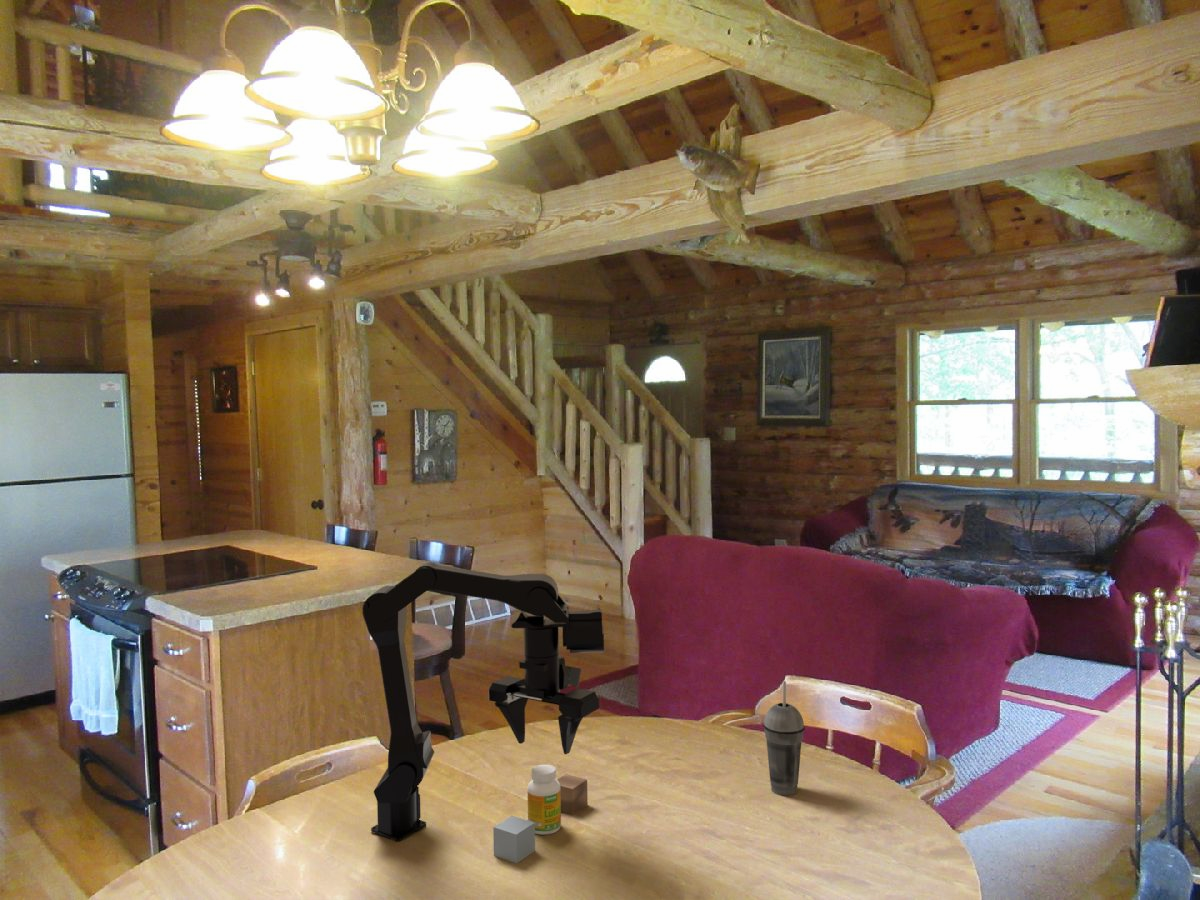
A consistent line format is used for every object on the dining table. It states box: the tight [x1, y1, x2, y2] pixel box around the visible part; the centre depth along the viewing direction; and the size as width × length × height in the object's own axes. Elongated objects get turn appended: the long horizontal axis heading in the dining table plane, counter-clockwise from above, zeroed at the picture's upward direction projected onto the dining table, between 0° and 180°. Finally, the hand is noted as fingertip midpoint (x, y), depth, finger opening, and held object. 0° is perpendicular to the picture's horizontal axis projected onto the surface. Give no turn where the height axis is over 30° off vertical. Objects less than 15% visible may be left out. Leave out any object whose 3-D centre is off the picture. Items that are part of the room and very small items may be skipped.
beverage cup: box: [762, 680, 806, 797], centre depth 153 cm, size 7×7×20 cm
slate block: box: [492, 815, 536, 864], centre depth 132 cm, size 4×4×4 cm
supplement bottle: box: [526, 764, 562, 836], centre depth 140 cm, size 5×5×10 cm
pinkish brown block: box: [556, 773, 589, 816], centre depth 147 cm, size 4×4×4 cm
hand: (543, 748), depth 140 cm, fingers open, 9 cm apart
